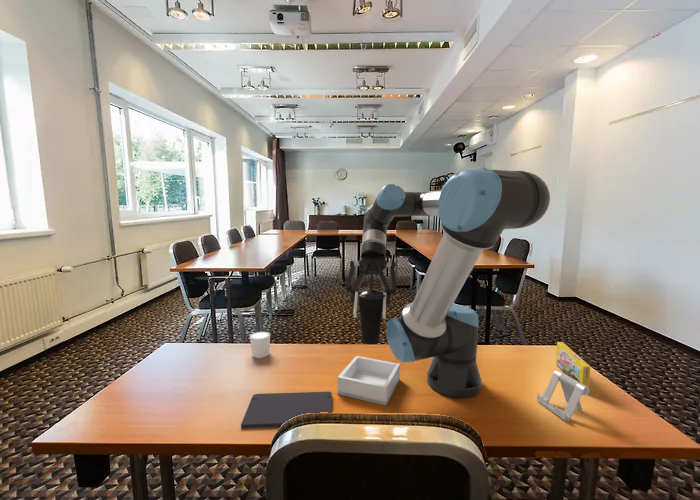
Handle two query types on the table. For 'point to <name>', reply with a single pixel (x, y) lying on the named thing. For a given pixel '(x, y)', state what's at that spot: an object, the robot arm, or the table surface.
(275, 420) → the notebook
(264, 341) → the white tapered cylinder
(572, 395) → the portable electronic device stand
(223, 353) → the table surface
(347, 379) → the cup tray
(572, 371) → the candy box
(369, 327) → the drinking cup
